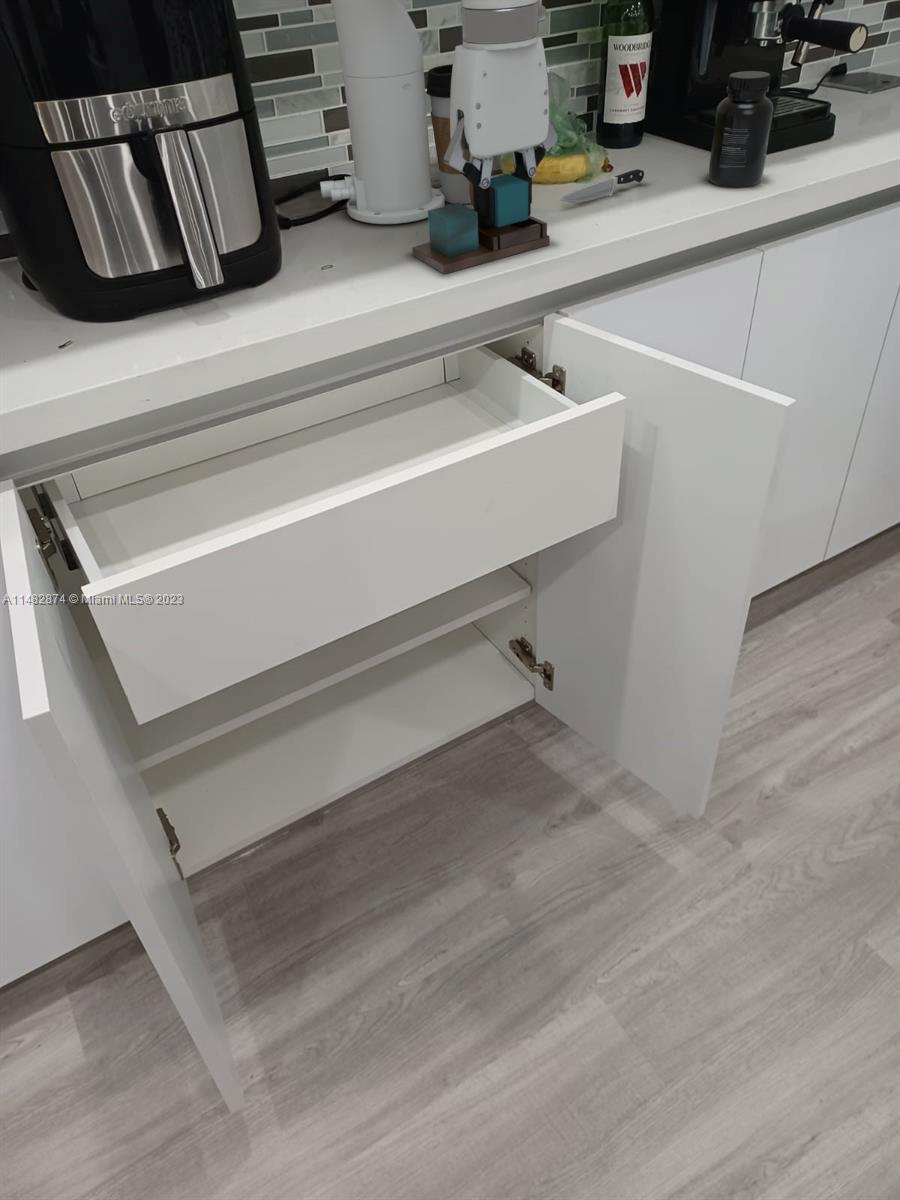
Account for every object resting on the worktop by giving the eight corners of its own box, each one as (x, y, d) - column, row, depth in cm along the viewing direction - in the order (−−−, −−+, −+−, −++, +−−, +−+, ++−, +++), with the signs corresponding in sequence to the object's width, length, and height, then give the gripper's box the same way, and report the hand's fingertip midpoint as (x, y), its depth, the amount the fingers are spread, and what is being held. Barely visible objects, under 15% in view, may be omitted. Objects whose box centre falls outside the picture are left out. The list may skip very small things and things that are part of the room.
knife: (561, 212, 108) (561, 195, 106) (557, 211, 108) (557, 194, 107) (643, 184, 114) (644, 168, 112) (639, 183, 114) (640, 167, 113)
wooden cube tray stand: (444, 274, 94) (441, 227, 91) (412, 255, 99) (408, 209, 96) (549, 244, 99) (550, 198, 96) (514, 228, 104) (514, 184, 101)
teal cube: (498, 227, 96) (497, 189, 94) (479, 218, 99) (478, 180, 96) (528, 219, 98) (528, 181, 95) (508, 210, 100) (508, 173, 98)
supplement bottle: (773, 181, 112) (792, 74, 104) (733, 192, 109) (749, 83, 101) (735, 169, 116) (750, 66, 108) (696, 179, 114) (708, 74, 106)
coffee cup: (472, 210, 110) (467, 74, 100) (420, 201, 114) (410, 69, 104) (509, 192, 115) (508, 60, 105) (458, 183, 119) (452, 56, 109)
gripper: (547, 11, 92) (544, 194, 104) (408, 34, 86) (422, 225, 98) (590, 18, 87) (583, 210, 99) (446, 43, 81) (456, 244, 93)
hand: (503, 216), depth 98 cm, fingers closed on teal cube, 4 cm apart
